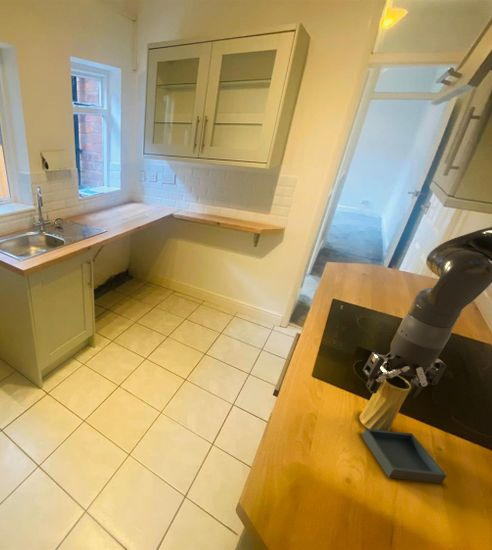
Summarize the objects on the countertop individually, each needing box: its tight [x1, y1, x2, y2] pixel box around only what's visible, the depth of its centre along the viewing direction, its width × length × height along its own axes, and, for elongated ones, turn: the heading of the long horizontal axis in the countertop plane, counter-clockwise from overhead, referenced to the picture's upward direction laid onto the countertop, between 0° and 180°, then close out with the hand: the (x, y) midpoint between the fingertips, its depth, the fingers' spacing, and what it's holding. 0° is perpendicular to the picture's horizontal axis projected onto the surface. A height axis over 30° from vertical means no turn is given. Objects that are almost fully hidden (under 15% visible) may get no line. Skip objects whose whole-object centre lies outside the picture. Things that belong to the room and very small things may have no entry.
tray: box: [361, 428, 448, 484], centre depth 67 cm, size 10×10×3 cm
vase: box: [359, 375, 411, 431], centre depth 72 cm, size 6×6×14 cm
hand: (390, 392), depth 71 cm, fingers open, 8 cm apart
